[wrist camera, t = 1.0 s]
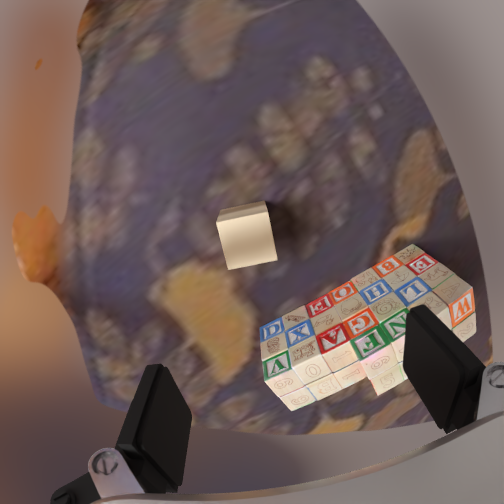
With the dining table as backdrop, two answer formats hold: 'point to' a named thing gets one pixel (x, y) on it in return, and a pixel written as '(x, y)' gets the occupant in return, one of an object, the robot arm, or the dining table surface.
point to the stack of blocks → (361, 328)
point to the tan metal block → (246, 235)
